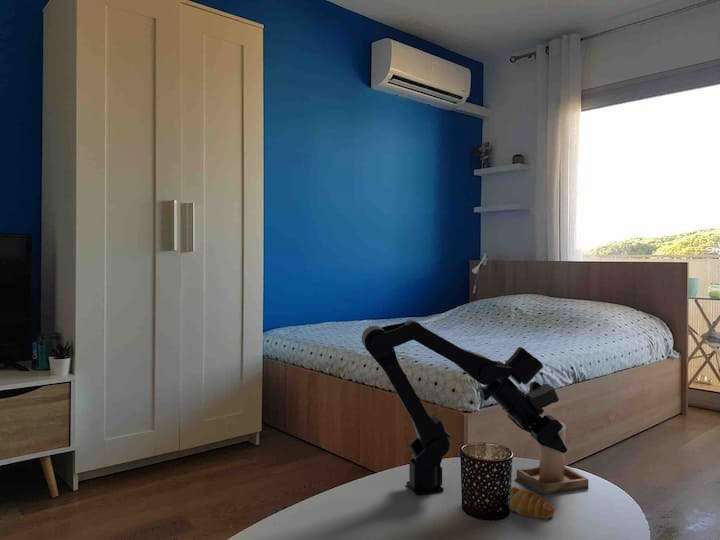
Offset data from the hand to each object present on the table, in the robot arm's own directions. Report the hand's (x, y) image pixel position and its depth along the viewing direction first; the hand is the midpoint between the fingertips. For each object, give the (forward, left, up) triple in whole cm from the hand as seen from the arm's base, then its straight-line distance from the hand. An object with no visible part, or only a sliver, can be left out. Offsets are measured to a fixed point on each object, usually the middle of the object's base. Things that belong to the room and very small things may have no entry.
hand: (557, 445), depth 129 cm
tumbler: (-1, 0, -8) cm, 8 cm away
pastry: (-14, -10, -9) cm, 19 cm away
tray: (-1, 0, -9) cm, 9 cm away
